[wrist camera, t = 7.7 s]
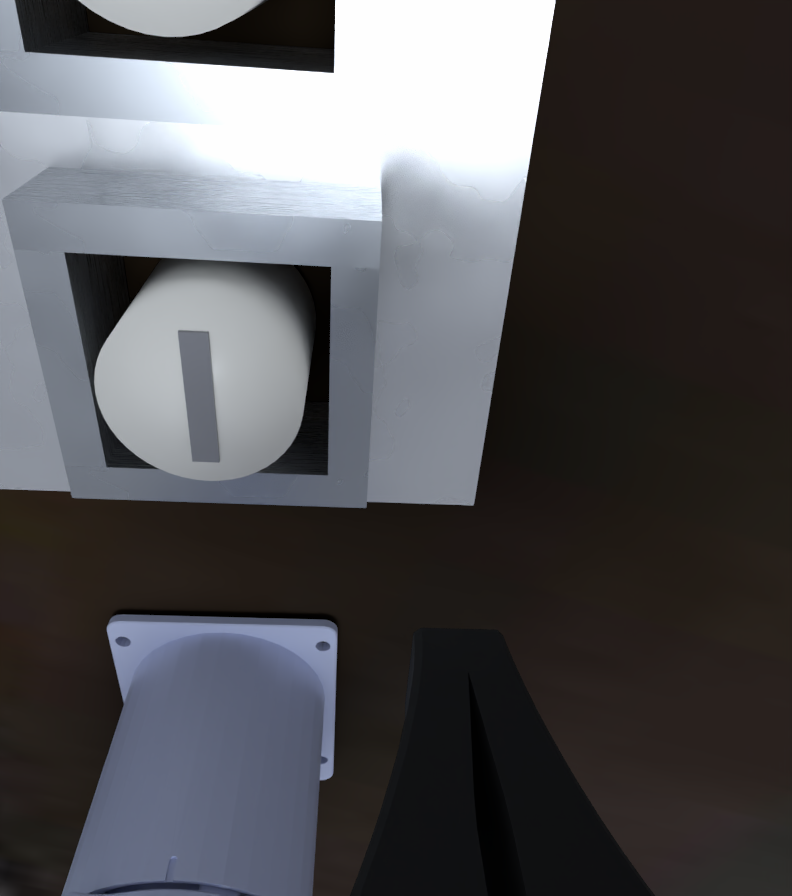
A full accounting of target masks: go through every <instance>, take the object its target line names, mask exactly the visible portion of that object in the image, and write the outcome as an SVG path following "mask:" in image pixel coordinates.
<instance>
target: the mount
mask: <svg viewBox="0 0 792 896" xmlns="http://www.w3.org/2000/svg"><path fill="white" fill-rule="evenodd" d="M554 6H555V0H336V5H335V49H322V48H308V47H294V46H279V45H265V44H251V43H237V42H223V41H209V40H195V39H181V38H167V37H153V36H138V35H124V34H110V33H96V32H89V30H88V23H87V16H86V10H85V5H84V4H82V3H81V2H80V1H78V0H0V489H18V490H46V491H71V495H72V498H88V499H117V500H146V501H175V502H204V503H234V504H263V505H292V506H321V507H350V508H366V507H367V502H390V503H418V504H447V505H474V501H475V495H476V488H477V482H478V476H479V470H480V464H481V457H482V451H483V445H484V439H485V433H486V427H487V420H488V414H489V408H490V402H491V396H492V389H493V383H494V377H495V371H496V365H497V358H498V352H499V346H500V340H501V334H502V327H503V321H504V315H505V309H506V303H507V297H508V290H509V284H510V278H511V272H512V266H513V259H514V253H515V247H516V241H517V235H518V228H519V222H520V216H521V210H522V204H523V197H524V191H525V185H526V179H527V173H528V167H529V160H530V154H531V148H532V142H533V136H534V129H535V123H536V117H537V111H538V105H539V98H540V92H541V86H542V80H543V74H544V68H545V61H546V55H547V49H548V43H549V37H550V30H551V24H552V18H553V12H554ZM123 256H141V257H160V258H178V259H197V260H216V261H234V262H253V263H272V264H290V265H309V266H328V267H331V317H330V380H329V403H328V402H305V405H304V412H303V417H302V422H301V426H300V428H299V431H298V433H297V436H296V437H295V439H294V441H293V442H292V444H291V445H290V447H289V448H288V449H287V450H286V452H285V453H284V454H283V455H282V456H281V457H279V458H278V459H277V460H276V461H275V462H273V463H272V464H270V465H269V466H268V467H266V468H264V469H262V470H260V471H258V472H256V473H253V474H251V475H248V476H245V477H241V478H236V479H231V480H223V481H204V480H195V479H189V478H184V477H180V476H177V475H174V474H170V473H168V472H165V471H163V470H161V469H158V468H156V467H154V466H153V465H151V464H149V463H147V462H145V461H144V460H142V459H141V458H139V457H138V456H136V455H135V454H134V453H133V452H132V451H130V450H129V449H128V448H127V447H126V446H125V445H124V444H123V443H122V442H121V441H120V440H119V439H118V438H117V437H116V435H115V434H114V433H113V432H112V430H111V429H110V427H109V426H108V424H107V422H106V421H105V419H104V417H103V415H102V413H101V410H100V408H99V405H98V402H97V398H96V394H95V385H94V377H95V367H96V362H97V359H98V356H99V353H100V351H101V348H102V347H103V345H104V343H105V342H106V340H107V338H108V337H109V335H110V334H111V332H112V331H113V329H114V328H115V326H116V325H117V324H118V322H119V321H120V319H121V318H122V316H123V315H124V313H125V312H126V310H127V309H128V307H129V306H130V302H129V295H128V289H127V282H126V275H125V269H124V262H123Z"/></svg>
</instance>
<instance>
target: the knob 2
mask: <svg viewBox="0 0 792 896" xmlns="http://www.w3.org/2000/svg"><path fill="white" fill-rule="evenodd" d="M315 331H316V310H315V305H314V300H313V298H312V295H311V292H310V289H309V288H308V286H307V284H306V282H305V280H304V278H303V277H302V275H301V274H300V273H299V271H298V270H297V269H296V268H295V267H294V265H290V264H272V263H253V262H234V261H216V260H197V259H178V258H162V259H161V260H160V262H159V263H158V264H157V265H156V267H155V268H154V270H153V271H152V273H151V274H150V276H149V277H148V279H147V280H146V282H145V283H144V285H143V286H142V288H141V289H140V291H139V292H138V294H137V295H136V297H135V298H134V300H133V301H132V303H131V304H130V306H129V307H128V309H127V310H126V312H125V313H124V315H123V316H122V318H121V319H120V321H119V322H118V324H117V325H116V326H115V328H114V329H113V331H112V332H111V334H110V335H109V337H108V338H107V340H106V342H105V343H104V345H103V347H102V348H101V351H100V353H99V356H98V359H97V362H96V367H95V377H94V385H95V394H96V398H97V402H98V405H99V408H100V410H101V413H102V415H103V417H104V419H105V421H106V422H107V424H108V426H109V427H110V429H111V430H112V432H113V433H114V434H115V435H116V437H117V438H118V439H119V440H120V441H121V442H122V443H123V444H124V445H125V446H126V447H127V448H128V449H129V450H130V451H132V452H133V453H134V454H135V455H136V456H138V457H139V458H141V459H142V460H144V461H145V462H147V463H149V464H151V465H153V466H154V467H156V468H158V469H161V470H163V471H165V472H168V473H170V474H174V475H177V476H180V477H184V478H189V479H195V480H204V481H223V480H231V479H236V478H241V477H245V476H248V475H251V474H253V473H256V472H258V471H260V470H262V469H264V468H266V467H268V466H269V465H270V464H272V463H273V462H275V461H276V460H277V459H278V458H279V457H281V456H282V455H283V454H284V453H285V452H286V450H287V449H288V448H289V447H290V445H291V444H292V442H293V441H294V439H295V437H296V436H297V433H298V431H299V428H300V426H301V422H302V417H303V412H304V405H305V398H306V392H307V385H308V378H309V371H310V365H311V358H312V351H313V345H314V338H315Z"/></svg>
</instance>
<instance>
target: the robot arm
mask: <svg viewBox="0 0 792 896" xmlns="http://www.w3.org/2000/svg"><path fill="white" fill-rule="evenodd" d="M107 634H108V638H109V642H110V646H111V651H112V655H113V659H114V664H115V668H116V672H117V677H118V681H119V685H120V689H121V694H122V698H123V702H124V706H123V709H122V712H121V715H120V718H119V721H118V724H117V727H116V730H115V733H114V736H113V740H112V743H111V746H110V749H109V752H108V755H107V758H106V761H105V764H104V767H103V770H102V773H101V776H100V779H99V782H98V785H97V788H96V791H95V795H94V798H93V801H92V804H91V807H90V810H89V813H88V816H87V819H86V822H85V825H84V828H83V831H82V834H81V837H80V840H79V843H78V847H77V850H76V853H75V856H74V859H73V862H72V865H71V868H70V871H69V874H68V877H67V880H66V883H65V886H64V889H63V892H62V895H61V896H312V892H313V876H314V860H315V845H316V829H317V813H318V798H319V782H320V780H326V779H329V778H330V777H331V776H332V775H333V768H334V736H335V702H336V668H337V635H338V629H337V626H336V625H335V624H334V623H333V622H331V621H329V620H322V619H283V618H244V617H204V616H165V615H126V614H122V615H116V616H113V617H112V618H111V619H110V621H109V623H108V626H107ZM125 637H126V638H125ZM322 641H324V642H325V643H323V642H322ZM350 896H655V895H654V894H653V892H652V891H651V890H650V888H649V887H648V886H647V885H646V883H645V882H644V880H643V879H642V878H641V876H640V875H639V873H638V872H637V871H636V869H635V868H634V866H633V865H632V864H631V862H630V861H629V859H628V858H627V857H626V855H625V854H624V852H623V851H622V850H621V848H620V847H619V845H618V844H617V842H616V841H615V839H614V838H613V836H612V835H611V833H610V832H609V830H608V829H607V827H606V826H605V824H604V823H603V821H602V820H601V818H600V817H599V815H598V814H597V812H596V810H595V809H594V807H593V806H592V804H591V802H590V801H589V799H588V798H587V796H586V795H585V793H584V791H583V790H582V788H581V787H580V785H579V783H578V782H577V780H576V778H575V777H574V775H573V773H572V772H571V770H570V768H569V767H568V765H567V763H566V761H565V760H564V758H563V756H562V754H561V752H560V751H559V749H558V747H557V745H556V744H555V742H554V740H553V738H552V736H551V735H550V733H549V731H548V729H547V728H546V726H545V724H544V722H543V720H542V718H541V716H540V714H539V713H538V711H537V709H536V707H535V705H534V703H533V701H532V699H531V697H530V695H529V693H528V691H527V689H526V687H525V685H524V683H523V680H522V678H521V676H520V674H519V672H518V670H517V668H516V665H515V663H514V661H513V659H512V656H511V654H510V652H509V649H508V647H507V645H506V642H505V640H504V637H503V635H502V634H501V633H500V632H499V631H498V630H481V629H443V628H420V629H419V630H417V631H416V632H414V634H413V642H412V651H411V659H410V668H409V676H408V685H407V693H406V702H405V723H404V727H403V731H402V736H401V740H400V745H399V749H398V753H397V757H396V761H395V764H394V767H393V771H392V774H391V778H390V781H389V784H388V788H387V791H386V794H385V798H384V801H383V805H382V808H381V811H380V814H379V817H378V820H377V823H376V826H375V829H374V832H373V835H372V838H371V841H370V844H369V847H368V849H367V852H366V855H365V858H364V860H363V863H362V866H361V868H360V871H359V874H358V877H357V879H356V882H355V884H354V887H353V889H352V892H351V894H350Z"/></svg>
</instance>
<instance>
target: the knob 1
mask: <svg viewBox="0 0 792 896" xmlns="http://www.w3.org/2000/svg"><path fill="white" fill-rule="evenodd" d="M78 1H80V2H81V3H82V4H84V5H85V6H86V7H88V8H89V9H90V10H92V11H93V12H95V13H97V14H98V15H100V16H102V17H104V18H105V19H107V20H109V21H111V22H113V23H115V24H118V25H120V26H122V27H125V28H127V29H130V30H133V31H137V32H140V33H144V34H148V35H155V36H162V37H184V36H191V35H197V34H202V33H205V32H208V31H211V30H214V29H217V28H219V27H221V26H223V25H225V24H227V23H229V22H231V21H233V20H235V19H236V18H238V17H240V16H242V15H244V14H245V13H247V12H249V11H251V10H253V9H254V8H256V7H258V6H260V5H262V4H264V3H265V2H267V1H268V0H78Z"/></svg>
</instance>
